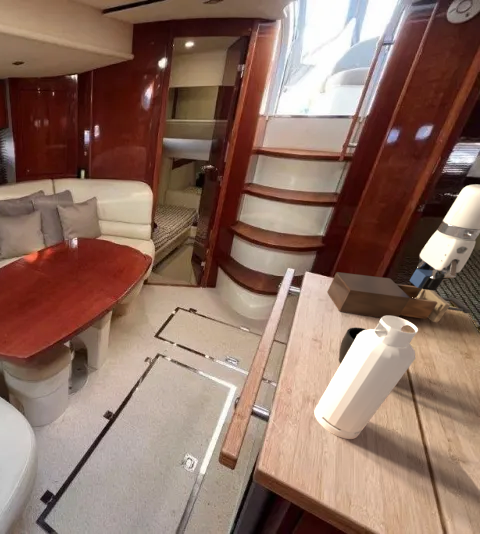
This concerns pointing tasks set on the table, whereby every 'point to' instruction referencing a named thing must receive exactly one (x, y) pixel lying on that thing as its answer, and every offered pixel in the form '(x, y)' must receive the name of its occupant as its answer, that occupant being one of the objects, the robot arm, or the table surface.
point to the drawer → (428, 304)
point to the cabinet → (367, 295)
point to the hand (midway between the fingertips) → (423, 284)
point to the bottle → (366, 377)
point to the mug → (348, 341)
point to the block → (420, 277)
